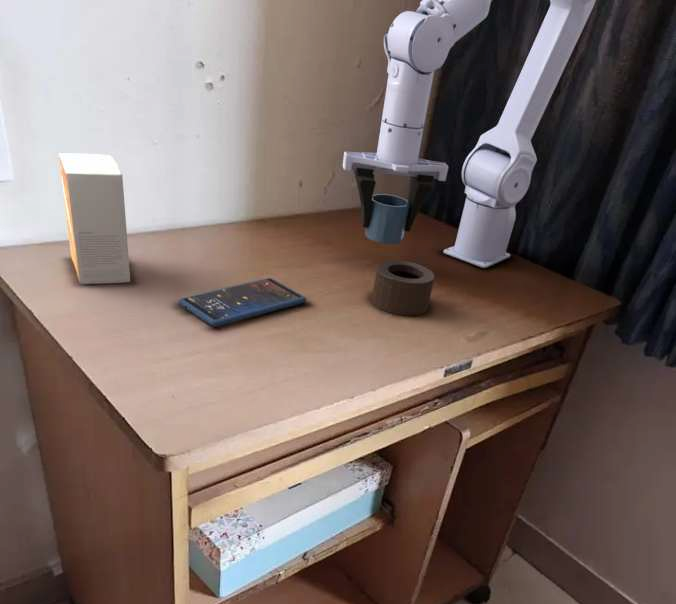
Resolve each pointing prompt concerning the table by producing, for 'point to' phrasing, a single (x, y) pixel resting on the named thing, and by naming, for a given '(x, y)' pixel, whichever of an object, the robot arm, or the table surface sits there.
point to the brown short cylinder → (402, 287)
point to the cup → (387, 219)
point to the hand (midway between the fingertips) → (385, 227)
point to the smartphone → (241, 301)
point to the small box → (95, 217)
